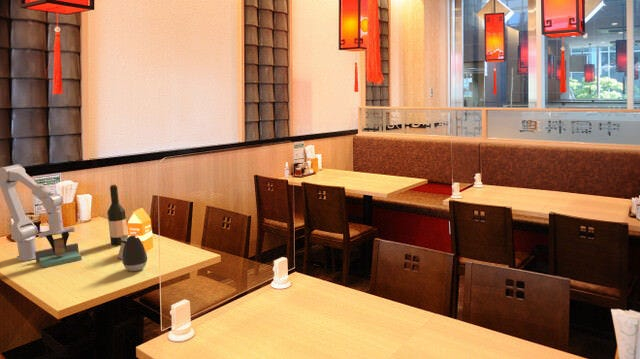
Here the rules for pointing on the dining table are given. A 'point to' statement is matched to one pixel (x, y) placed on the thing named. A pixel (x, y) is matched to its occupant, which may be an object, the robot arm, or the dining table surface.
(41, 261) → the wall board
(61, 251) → the walnut block
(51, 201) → the robot arm
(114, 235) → the wine bottle
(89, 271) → the dining table surface
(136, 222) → the orange juice
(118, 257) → the flask
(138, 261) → the black egg shape
